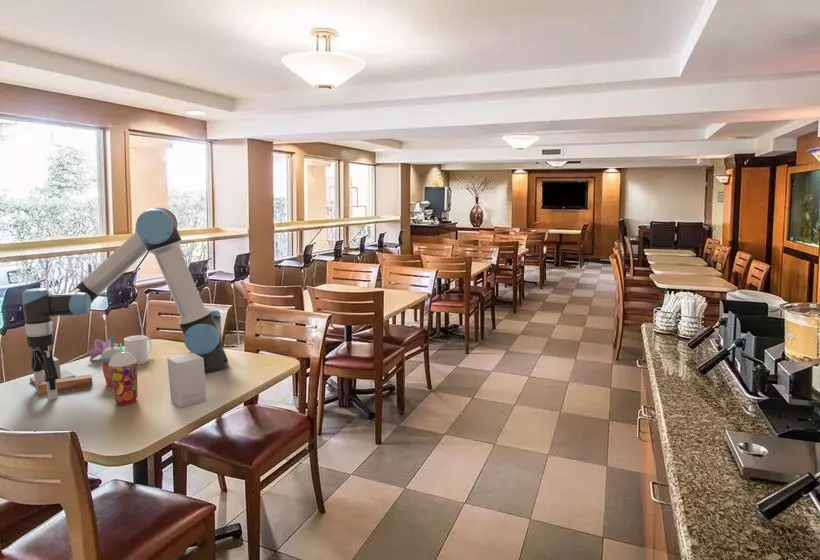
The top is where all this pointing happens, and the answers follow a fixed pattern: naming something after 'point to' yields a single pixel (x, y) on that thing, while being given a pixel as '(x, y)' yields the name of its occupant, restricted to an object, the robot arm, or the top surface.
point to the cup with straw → (108, 360)
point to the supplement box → (187, 379)
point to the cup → (138, 347)
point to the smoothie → (123, 377)
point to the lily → (100, 348)
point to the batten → (68, 384)
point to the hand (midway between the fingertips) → (46, 393)
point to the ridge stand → (59, 373)
